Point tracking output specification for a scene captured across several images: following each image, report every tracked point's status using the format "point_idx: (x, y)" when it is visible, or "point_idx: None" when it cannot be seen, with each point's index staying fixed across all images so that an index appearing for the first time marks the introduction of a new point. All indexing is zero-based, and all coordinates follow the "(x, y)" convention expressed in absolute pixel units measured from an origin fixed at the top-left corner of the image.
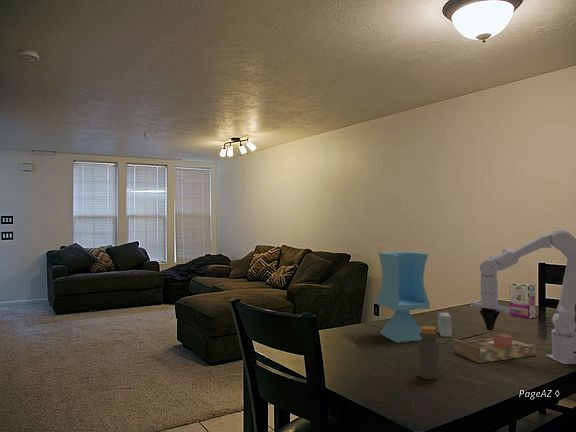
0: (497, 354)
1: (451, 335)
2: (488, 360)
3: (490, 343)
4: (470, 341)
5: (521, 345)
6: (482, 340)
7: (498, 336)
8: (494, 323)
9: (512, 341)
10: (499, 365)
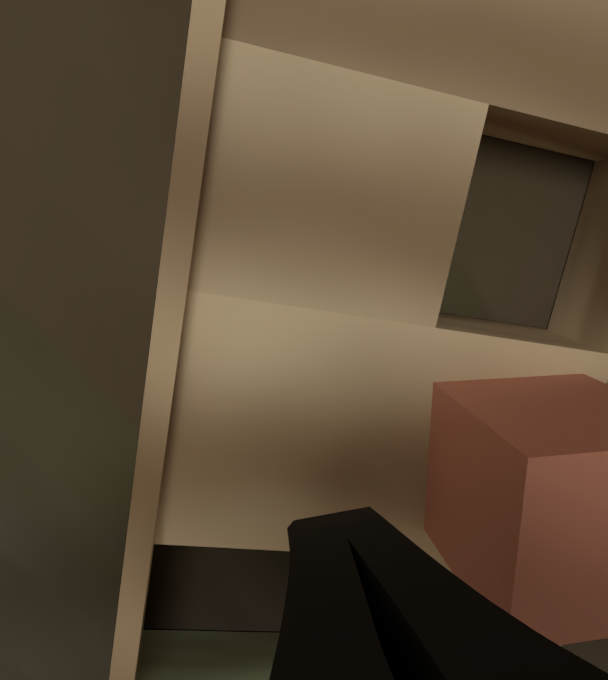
0: None
1: None
2: None
3: (282, 426)
4: (134, 672)
5: (594, 131)
6: (162, 471)
7: (591, 638)
8: (465, 596)
9: (393, 11)
10: (575, 645)
